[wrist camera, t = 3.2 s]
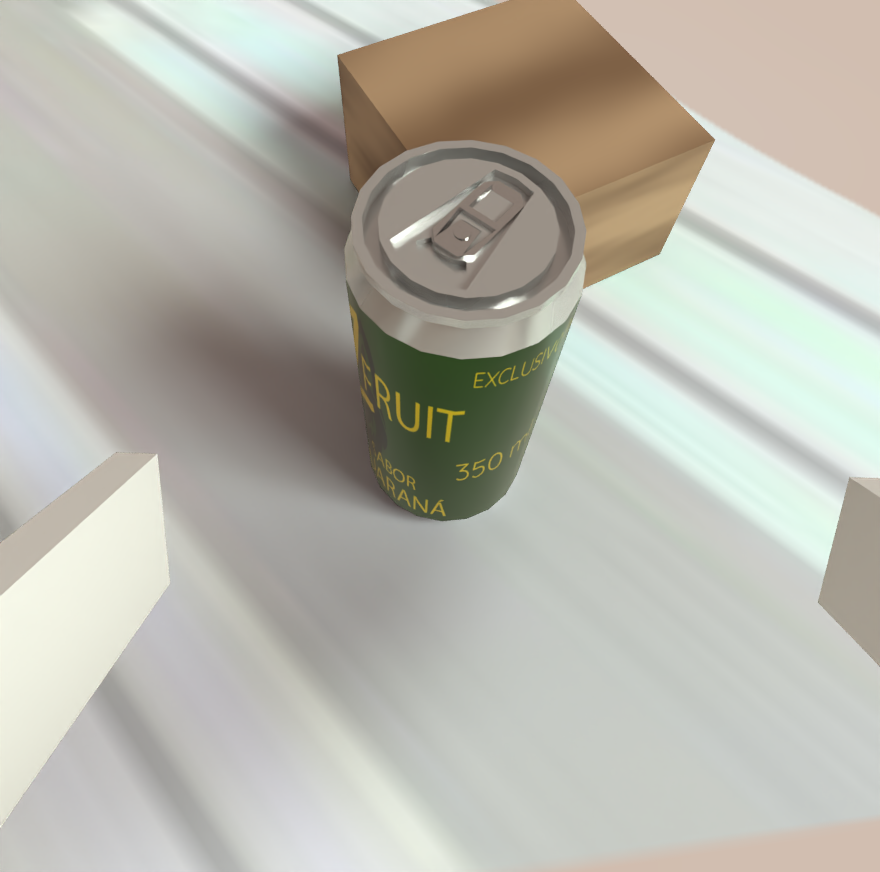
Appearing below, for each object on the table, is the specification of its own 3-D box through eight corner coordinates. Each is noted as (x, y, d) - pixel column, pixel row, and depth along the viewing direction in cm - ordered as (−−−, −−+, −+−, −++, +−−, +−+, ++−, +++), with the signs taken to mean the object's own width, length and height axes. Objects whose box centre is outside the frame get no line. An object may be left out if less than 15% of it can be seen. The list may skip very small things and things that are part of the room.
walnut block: (350, 179, 31) (337, 55, 25) (535, 111, 33) (559, -16, 28) (460, 344, 27) (472, 239, 22) (659, 253, 30) (715, 139, 24)
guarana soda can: (433, 369, 27) (448, 98, 16) (546, 449, 25) (645, 213, 14) (340, 466, 25) (283, 234, 14) (456, 558, 23) (495, 381, 13)
